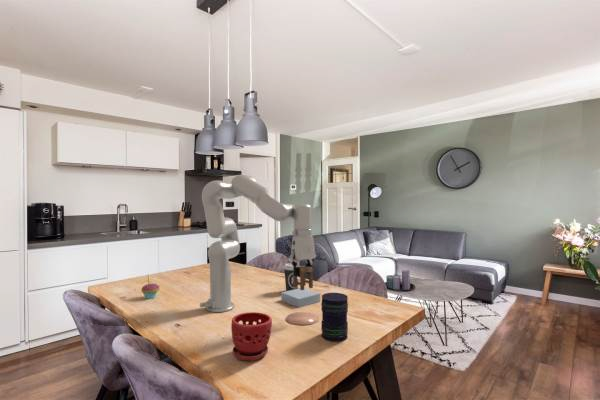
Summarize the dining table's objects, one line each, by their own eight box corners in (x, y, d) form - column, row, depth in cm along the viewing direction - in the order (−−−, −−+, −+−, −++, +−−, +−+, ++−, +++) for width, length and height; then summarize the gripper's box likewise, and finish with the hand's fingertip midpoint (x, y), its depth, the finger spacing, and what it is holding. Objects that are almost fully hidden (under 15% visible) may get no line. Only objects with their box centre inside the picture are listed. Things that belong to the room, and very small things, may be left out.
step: (298, 307, 150) (298, 299, 150) (281, 300, 161) (281, 292, 161) (320, 301, 159) (320, 293, 159) (302, 295, 170) (302, 287, 170)
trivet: (300, 328, 126) (300, 327, 126) (279, 317, 136) (279, 317, 136) (325, 319, 135) (325, 318, 135) (304, 310, 145) (304, 309, 145)
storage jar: (353, 336, 118) (353, 296, 118) (337, 344, 111) (338, 302, 111) (331, 328, 125) (331, 291, 125) (315, 336, 118) (316, 296, 118)
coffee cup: (301, 289, 181) (301, 263, 181) (299, 294, 171) (299, 266, 171) (284, 288, 182) (284, 262, 182) (282, 293, 172) (282, 266, 172)
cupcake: (137, 298, 163) (137, 275, 163) (152, 294, 170) (152, 272, 170) (148, 301, 159) (148, 277, 159) (163, 296, 166) (163, 273, 166)
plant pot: (259, 367, 96) (259, 328, 96) (223, 359, 101) (223, 321, 101) (278, 348, 108) (278, 313, 108) (244, 342, 113) (245, 308, 113)
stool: (302, 290, 131) (302, 269, 131) (293, 287, 136) (293, 267, 136) (312, 287, 135) (312, 267, 135) (303, 284, 140) (303, 265, 140)
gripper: (292, 235, 127) (292, 279, 127) (323, 232, 138) (323, 273, 138) (281, 233, 133) (281, 276, 133) (311, 231, 144) (311, 270, 144)
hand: (302, 274), depth 136 cm, fingers closed on stool, 6 cm apart
